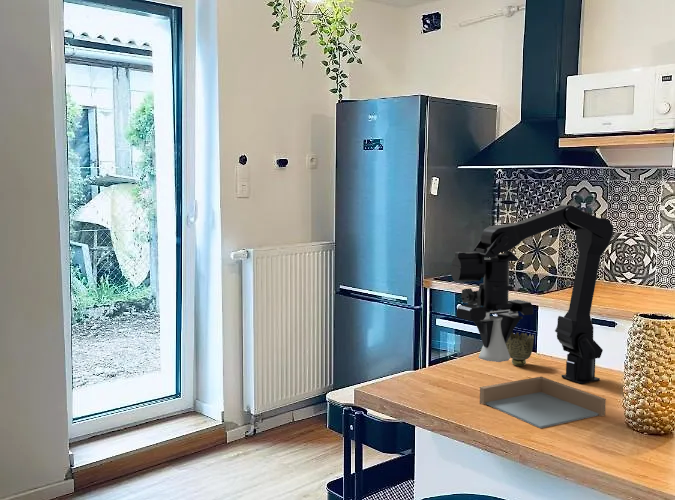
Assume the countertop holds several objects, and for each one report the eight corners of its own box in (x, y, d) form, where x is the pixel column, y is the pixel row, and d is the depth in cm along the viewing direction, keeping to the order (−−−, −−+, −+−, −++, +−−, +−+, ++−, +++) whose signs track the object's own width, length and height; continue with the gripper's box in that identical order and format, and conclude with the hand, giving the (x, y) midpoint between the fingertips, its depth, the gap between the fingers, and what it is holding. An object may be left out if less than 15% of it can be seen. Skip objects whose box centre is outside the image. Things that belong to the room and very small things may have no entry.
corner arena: (540, 391, 147) (541, 376, 147) (605, 415, 132) (605, 398, 131) (479, 402, 139) (480, 387, 139) (540, 429, 123) (540, 412, 123)
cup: (528, 370, 165) (529, 339, 164) (500, 365, 169) (501, 335, 168) (536, 363, 171) (537, 334, 171) (509, 359, 175) (510, 330, 175)
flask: (472, 359, 152) (473, 317, 151) (488, 353, 157) (489, 313, 156) (500, 364, 147) (501, 321, 146) (515, 358, 152) (516, 317, 151)
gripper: (503, 274, 161) (501, 335, 163) (442, 278, 153) (441, 343, 154) (535, 279, 152) (533, 344, 153) (473, 284, 143) (471, 353, 144)
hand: (494, 346), depth 151 cm, fingers closed on flask, 5 cm apart
